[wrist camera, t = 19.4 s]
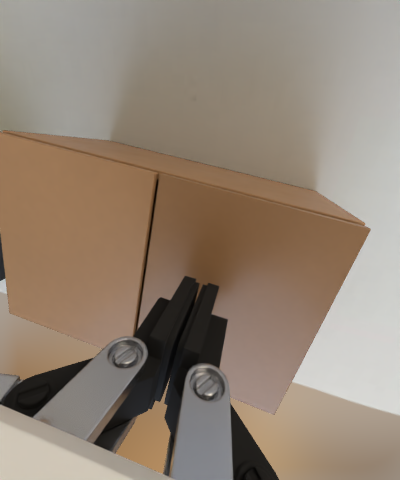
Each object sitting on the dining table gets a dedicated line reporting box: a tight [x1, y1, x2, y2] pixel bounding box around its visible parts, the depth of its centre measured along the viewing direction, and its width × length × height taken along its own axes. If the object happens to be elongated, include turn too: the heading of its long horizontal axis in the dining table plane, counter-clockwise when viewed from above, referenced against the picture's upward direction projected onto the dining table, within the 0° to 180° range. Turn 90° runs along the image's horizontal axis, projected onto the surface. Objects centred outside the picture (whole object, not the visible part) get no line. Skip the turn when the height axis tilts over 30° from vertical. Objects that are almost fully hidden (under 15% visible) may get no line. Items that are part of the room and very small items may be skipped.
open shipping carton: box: [0, 130, 365, 349], centre depth 17 cm, size 18×12×10 cm, turn 78°
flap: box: [137, 174, 371, 415], centre depth 12 cm, size 9×11×1 cm
